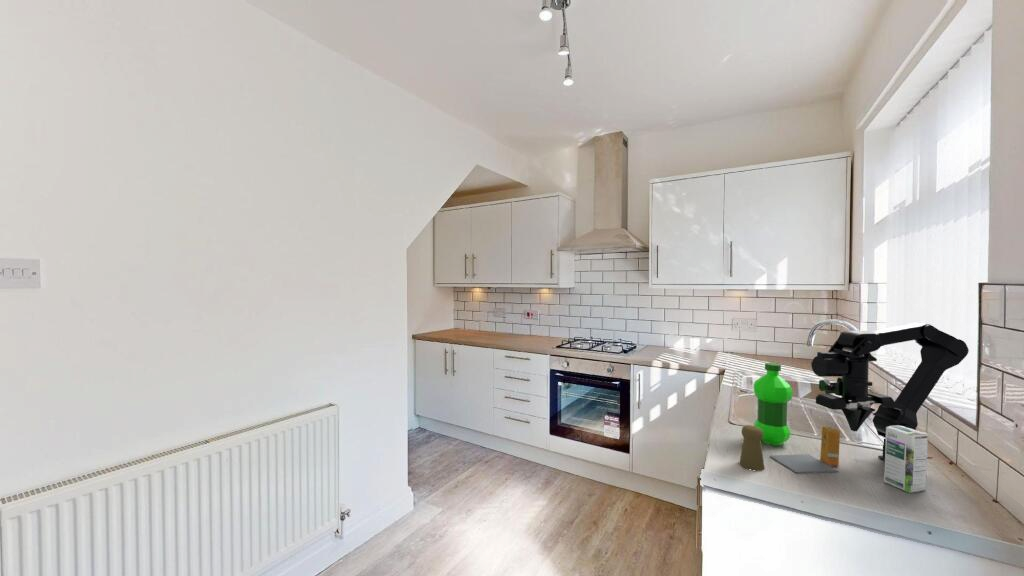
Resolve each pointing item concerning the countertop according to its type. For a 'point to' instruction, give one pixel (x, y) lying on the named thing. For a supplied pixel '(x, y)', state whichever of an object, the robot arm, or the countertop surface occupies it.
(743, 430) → the cork
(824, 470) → the rubber mat
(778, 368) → the plastic bottle
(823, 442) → the supplement box
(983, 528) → the countertop surface
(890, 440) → the syrup box
